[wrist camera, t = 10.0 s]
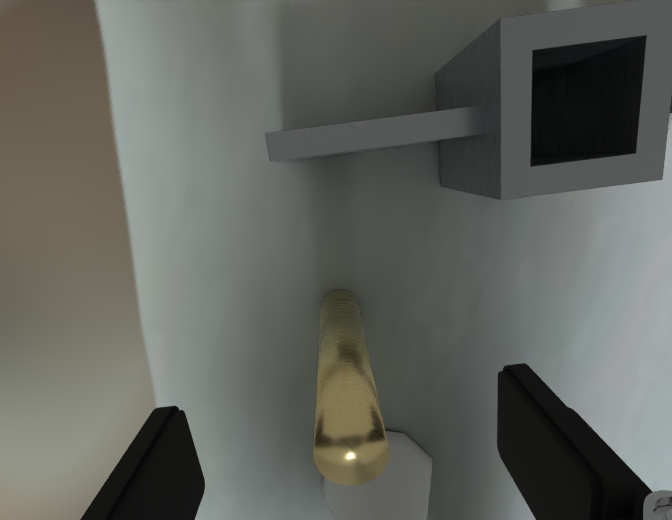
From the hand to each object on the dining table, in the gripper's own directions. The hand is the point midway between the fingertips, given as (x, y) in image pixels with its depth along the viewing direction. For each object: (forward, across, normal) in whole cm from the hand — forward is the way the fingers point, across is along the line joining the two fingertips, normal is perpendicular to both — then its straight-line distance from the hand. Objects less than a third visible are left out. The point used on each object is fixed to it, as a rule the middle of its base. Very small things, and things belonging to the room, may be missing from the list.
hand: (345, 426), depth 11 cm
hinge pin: (+11, 0, +1) cm, 11 cm away
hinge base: (+11, -5, -8) cm, 14 cm away
